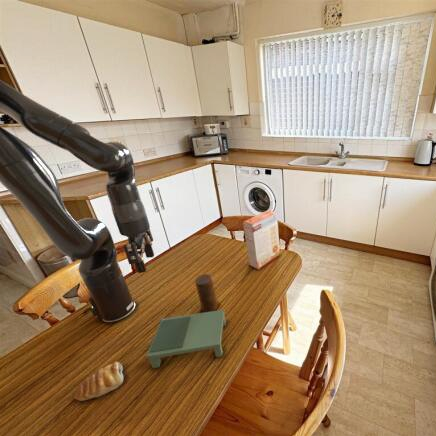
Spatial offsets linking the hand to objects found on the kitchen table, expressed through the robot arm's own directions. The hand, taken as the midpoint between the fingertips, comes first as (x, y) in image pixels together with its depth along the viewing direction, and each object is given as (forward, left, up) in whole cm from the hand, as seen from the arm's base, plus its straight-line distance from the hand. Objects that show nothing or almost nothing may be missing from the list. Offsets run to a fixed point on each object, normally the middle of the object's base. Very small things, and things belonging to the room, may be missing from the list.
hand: (146, 264), depth 74 cm
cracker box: (+37, +20, -18) cm, 46 cm away
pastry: (-5, -25, -18) cm, 31 cm away
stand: (+14, -17, -18) cm, 28 cm away
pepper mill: (+17, -4, -18) cm, 25 cm away
